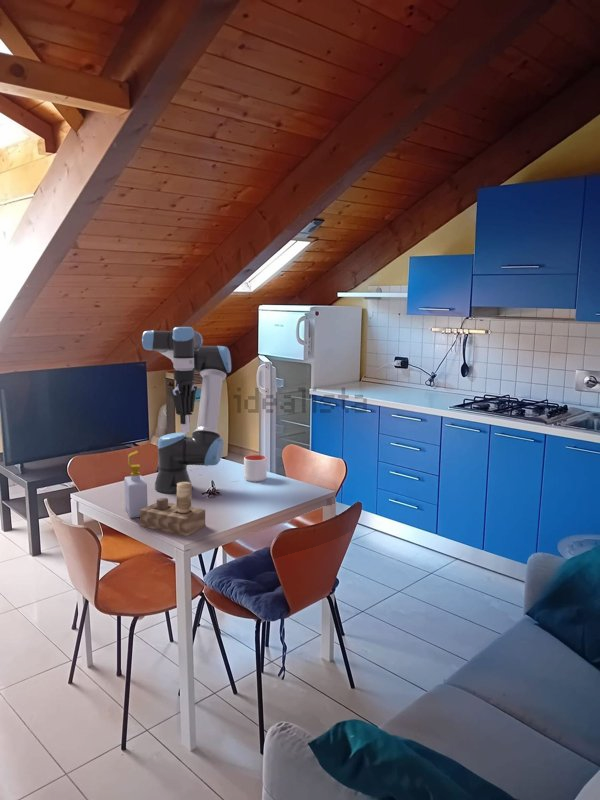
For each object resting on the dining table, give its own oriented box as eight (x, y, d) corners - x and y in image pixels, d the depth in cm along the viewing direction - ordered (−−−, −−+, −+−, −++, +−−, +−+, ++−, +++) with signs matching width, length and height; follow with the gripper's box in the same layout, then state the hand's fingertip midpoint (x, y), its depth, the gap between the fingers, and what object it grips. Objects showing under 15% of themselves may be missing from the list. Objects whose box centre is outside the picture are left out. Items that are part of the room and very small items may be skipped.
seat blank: (140, 526, 219) (139, 501, 217) (160, 516, 229) (160, 493, 227) (186, 536, 210) (186, 510, 209) (205, 525, 220) (205, 501, 218)
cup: (265, 482, 273) (265, 460, 271) (243, 482, 273) (242, 460, 271) (267, 476, 283) (267, 455, 281) (245, 476, 283) (245, 454, 281)
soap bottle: (148, 516, 229) (146, 454, 225) (129, 518, 226) (127, 456, 222) (142, 506, 240) (140, 447, 236) (125, 508, 237) (122, 448, 233)
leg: (184, 528, 214) (185, 486, 212) (173, 525, 216) (173, 484, 214) (193, 524, 218) (194, 483, 216) (182, 521, 221) (183, 481, 218)
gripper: (181, 371, 220) (182, 436, 224) (202, 368, 232) (203, 430, 235) (164, 370, 223) (166, 434, 227) (186, 367, 235) (187, 428, 239)
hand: (185, 432), depth 231 cm, fingers closed
